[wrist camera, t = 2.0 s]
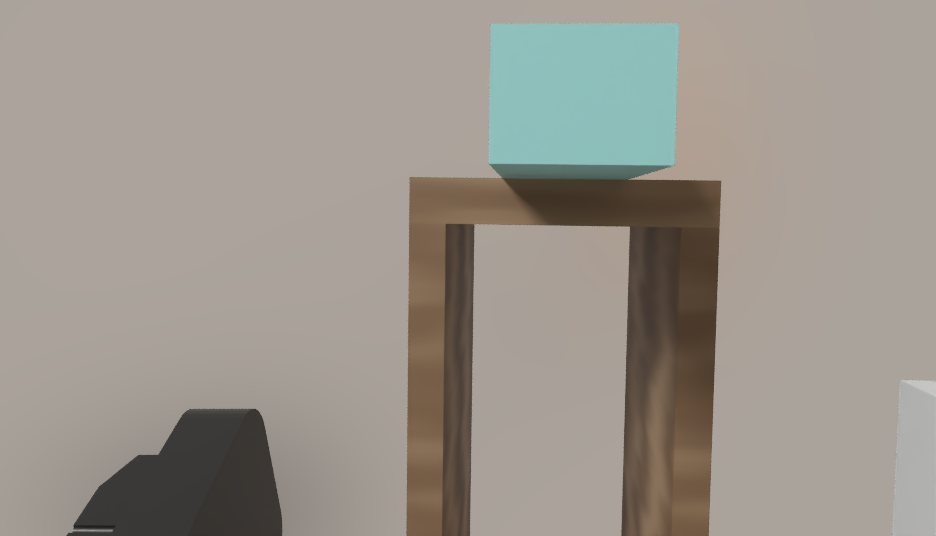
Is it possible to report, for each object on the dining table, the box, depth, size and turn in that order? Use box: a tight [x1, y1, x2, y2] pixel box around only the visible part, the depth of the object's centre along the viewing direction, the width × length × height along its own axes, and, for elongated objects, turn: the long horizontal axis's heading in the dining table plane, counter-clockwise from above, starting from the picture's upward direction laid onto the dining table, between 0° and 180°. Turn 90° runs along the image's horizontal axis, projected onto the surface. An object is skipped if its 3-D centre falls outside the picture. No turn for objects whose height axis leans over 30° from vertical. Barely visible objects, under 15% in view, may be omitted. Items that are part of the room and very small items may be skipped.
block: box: [489, 23, 679, 180], centre depth 29 cm, size 22×4×3 cm, turn 176°
